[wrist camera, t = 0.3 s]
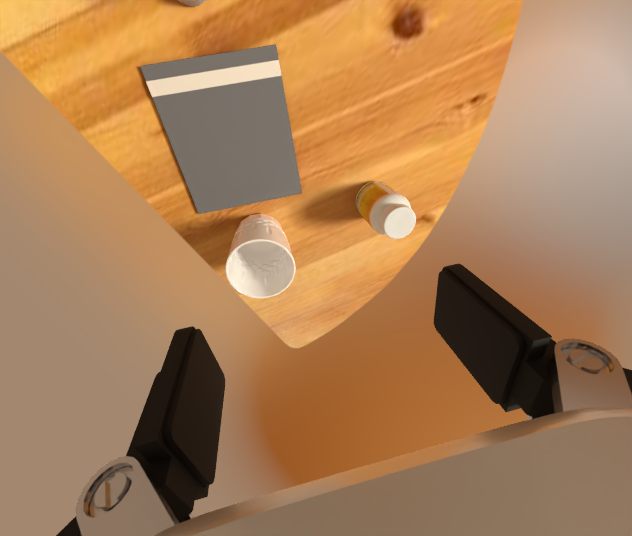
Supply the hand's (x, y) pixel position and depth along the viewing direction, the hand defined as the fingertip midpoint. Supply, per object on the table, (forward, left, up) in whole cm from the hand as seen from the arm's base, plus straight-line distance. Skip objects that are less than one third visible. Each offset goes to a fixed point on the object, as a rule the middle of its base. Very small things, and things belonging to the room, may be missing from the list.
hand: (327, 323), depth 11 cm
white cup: (+9, -4, -30) cm, 32 cm away
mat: (-4, -4, -30) cm, 30 cm away
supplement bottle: (+7, +13, -30) cm, 33 cm away
